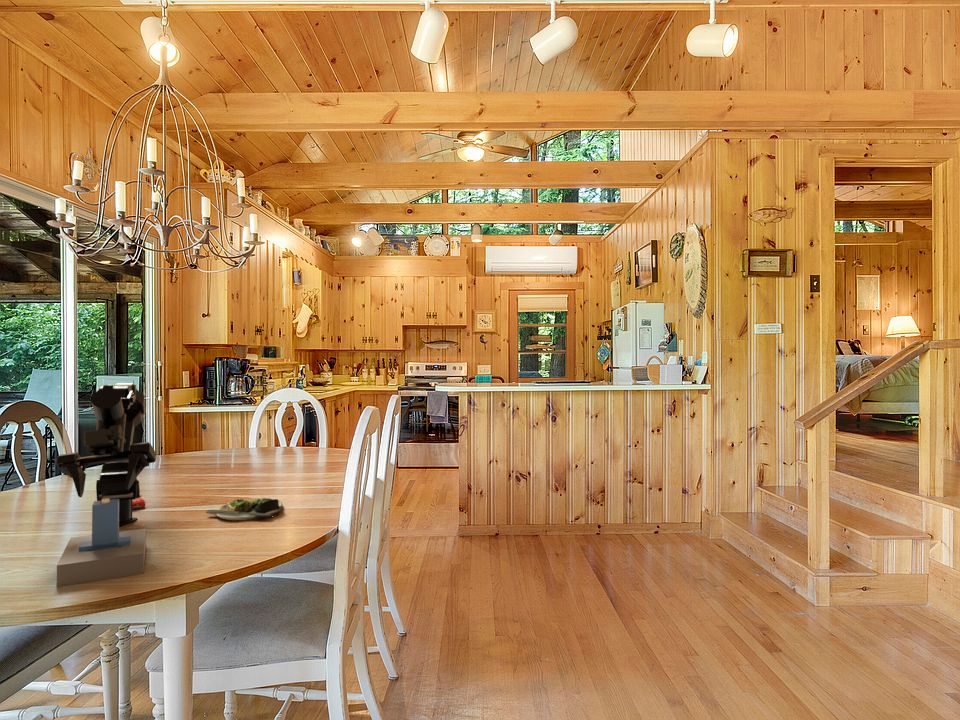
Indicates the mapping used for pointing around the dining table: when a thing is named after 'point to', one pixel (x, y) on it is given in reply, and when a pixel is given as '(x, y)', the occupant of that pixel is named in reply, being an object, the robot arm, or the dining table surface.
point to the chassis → (101, 560)
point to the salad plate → (248, 509)
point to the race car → (138, 503)
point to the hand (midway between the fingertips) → (103, 492)
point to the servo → (105, 527)
